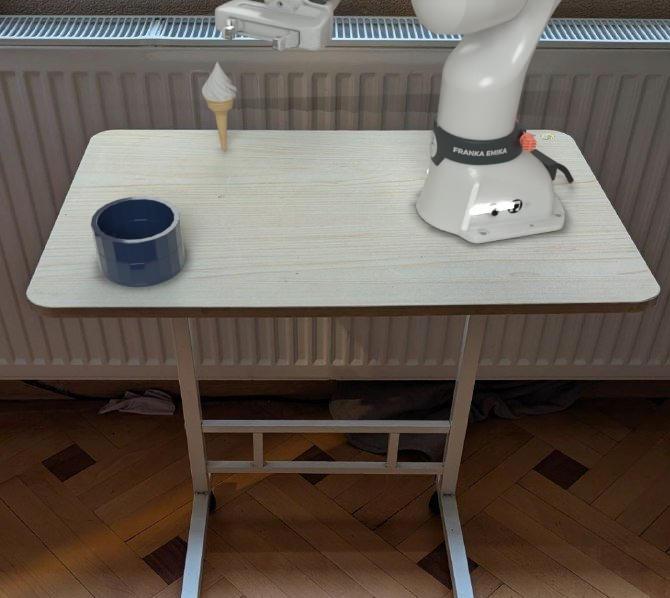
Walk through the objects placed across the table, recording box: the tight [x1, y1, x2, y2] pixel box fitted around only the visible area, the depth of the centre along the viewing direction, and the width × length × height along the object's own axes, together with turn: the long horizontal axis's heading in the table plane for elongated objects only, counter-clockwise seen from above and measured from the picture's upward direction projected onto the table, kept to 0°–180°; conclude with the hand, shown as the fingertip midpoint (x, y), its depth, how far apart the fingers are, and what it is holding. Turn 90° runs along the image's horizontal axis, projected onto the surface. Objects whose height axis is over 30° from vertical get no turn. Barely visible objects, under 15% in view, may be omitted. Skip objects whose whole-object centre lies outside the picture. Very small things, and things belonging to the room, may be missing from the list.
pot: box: [90, 195, 186, 288], centre depth 113 cm, size 12×12×7 cm
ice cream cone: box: [201, 61, 237, 152], centre depth 135 cm, size 6×6×15 cm
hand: (251, 40), depth 137 cm, fingers open, 8 cm apart
